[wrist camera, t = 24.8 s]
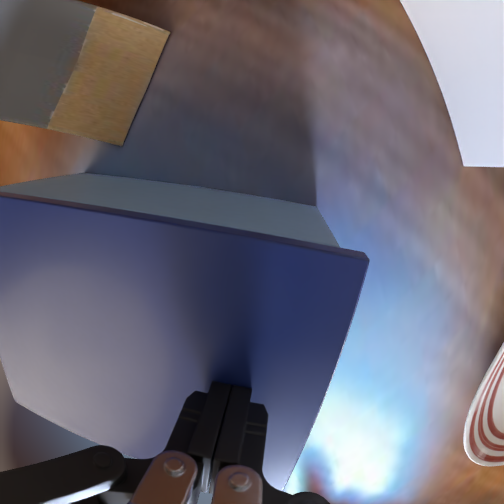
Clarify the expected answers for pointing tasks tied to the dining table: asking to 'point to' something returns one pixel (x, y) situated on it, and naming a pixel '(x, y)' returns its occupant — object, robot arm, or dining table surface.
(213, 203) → the chest
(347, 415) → the dining table surface
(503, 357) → the dinner plate
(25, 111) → the sandwich container
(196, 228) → the lid
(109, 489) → the robot arm
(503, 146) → the milk
